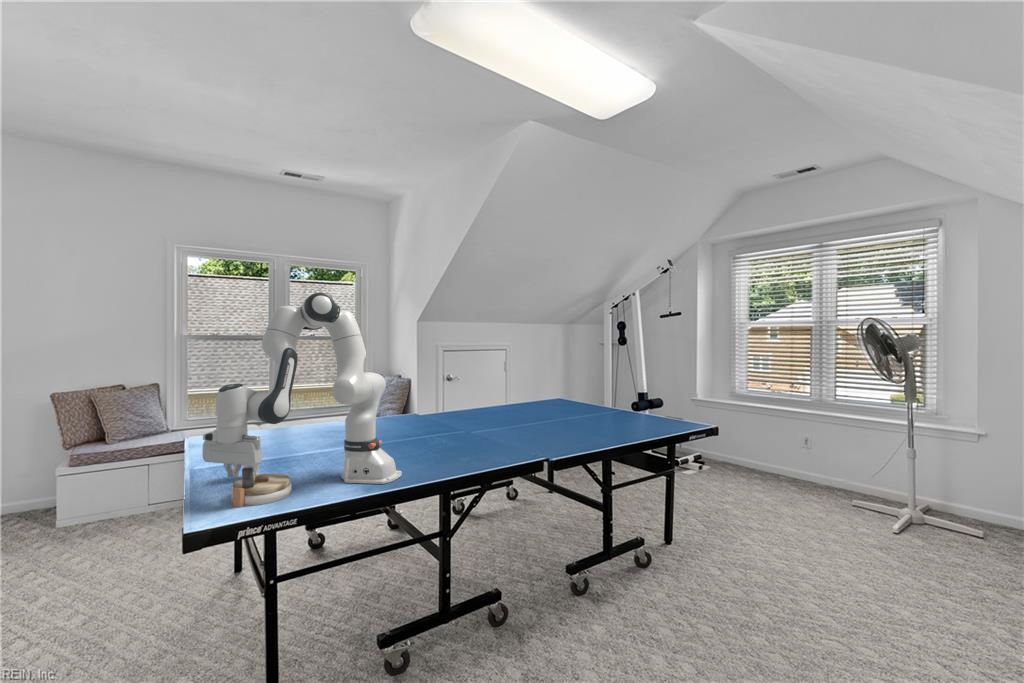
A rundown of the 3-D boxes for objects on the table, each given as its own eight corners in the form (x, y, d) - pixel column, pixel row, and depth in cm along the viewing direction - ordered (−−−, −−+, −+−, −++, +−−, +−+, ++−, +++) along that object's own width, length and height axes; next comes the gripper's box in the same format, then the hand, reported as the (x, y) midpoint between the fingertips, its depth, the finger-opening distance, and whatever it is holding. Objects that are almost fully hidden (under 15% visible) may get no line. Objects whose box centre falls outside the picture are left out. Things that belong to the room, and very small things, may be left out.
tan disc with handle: (257, 477, 177) (257, 455, 177) (300, 480, 173) (300, 458, 173) (220, 493, 160) (220, 468, 160) (266, 497, 157) (266, 472, 157)
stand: (303, 489, 173) (302, 474, 173) (260, 509, 154) (259, 492, 154) (260, 485, 178) (260, 469, 178) (213, 503, 159) (213, 486, 159)
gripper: (266, 434, 162) (267, 476, 162) (214, 430, 167) (215, 471, 167) (252, 438, 156) (252, 482, 156) (198, 434, 161) (199, 477, 161)
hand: (232, 476), depth 162 cm, fingers closed
